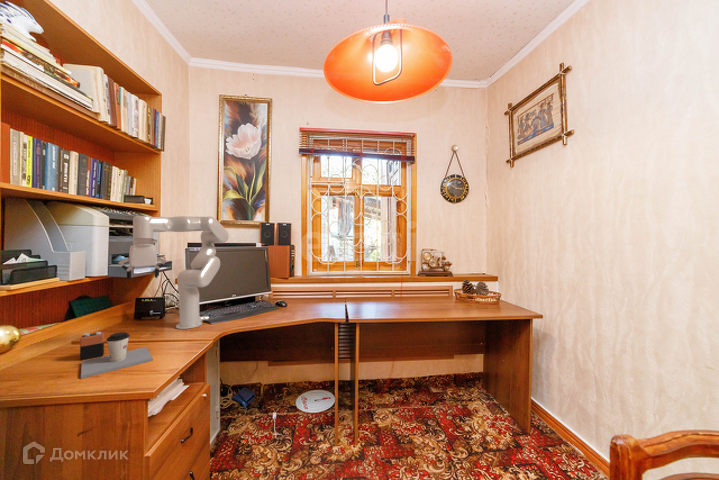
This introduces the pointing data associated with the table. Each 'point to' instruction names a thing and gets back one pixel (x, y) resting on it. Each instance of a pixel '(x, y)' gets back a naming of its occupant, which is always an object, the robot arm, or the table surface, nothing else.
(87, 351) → the battery
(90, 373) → the desk mat
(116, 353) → the coffee cup
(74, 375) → the table surface
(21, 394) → the table surface
